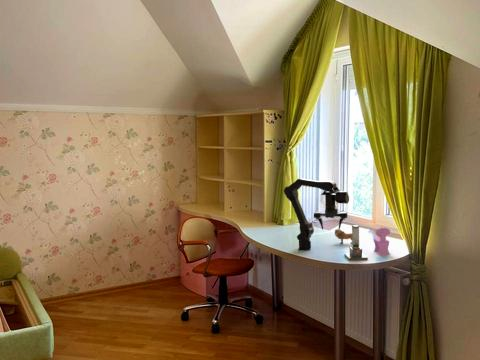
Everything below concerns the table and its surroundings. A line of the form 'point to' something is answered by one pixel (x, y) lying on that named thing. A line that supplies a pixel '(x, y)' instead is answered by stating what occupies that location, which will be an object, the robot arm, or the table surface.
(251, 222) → the table surface
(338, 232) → the lion figurine
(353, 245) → the steel post
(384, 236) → the pink figurine
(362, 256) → the stand base
